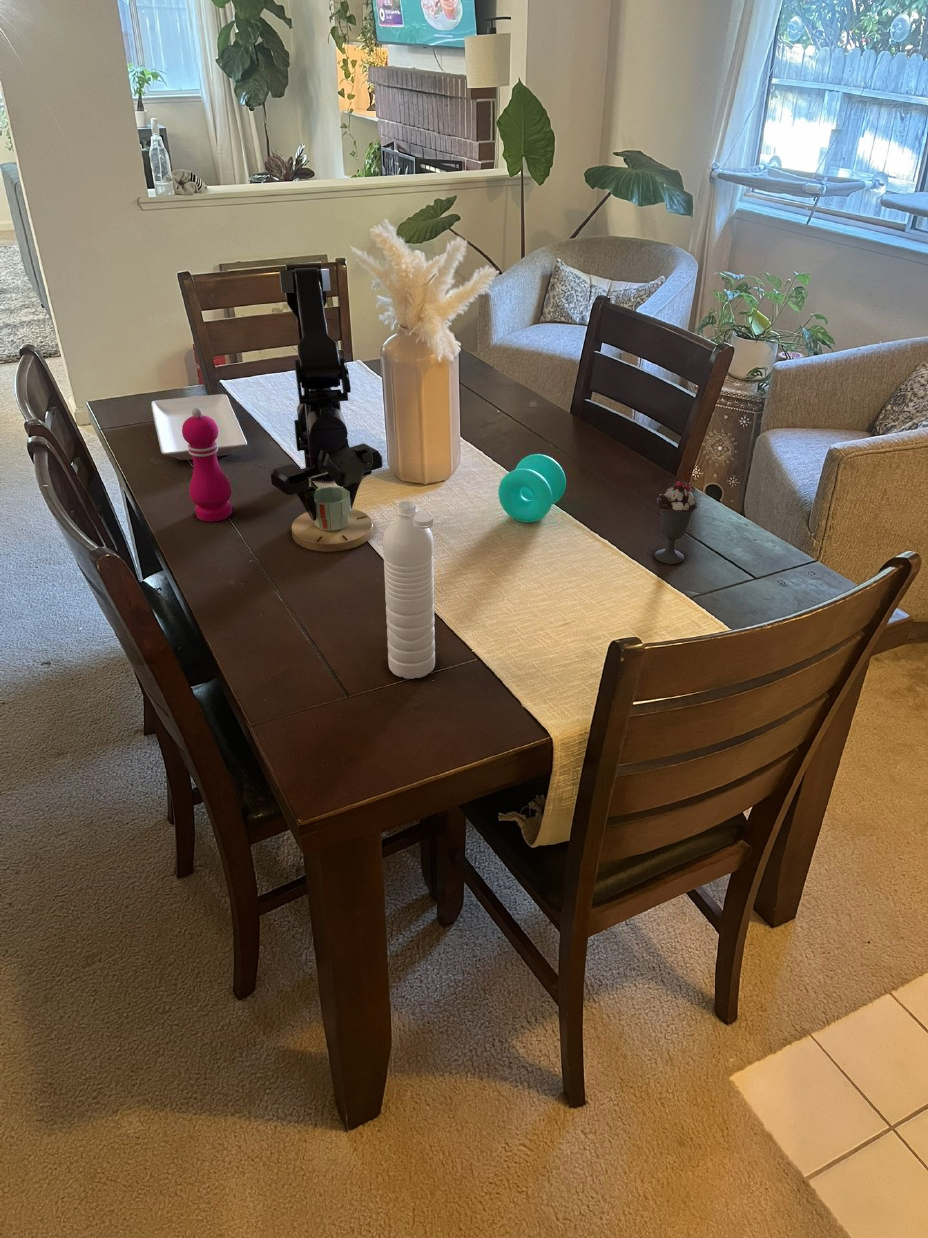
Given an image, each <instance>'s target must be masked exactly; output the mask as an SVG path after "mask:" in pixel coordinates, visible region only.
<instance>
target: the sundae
mask: <svg viewBox="0 0 928 1238" xmlns="http://www.w3.org/2000/svg"><path fill="white" fill-rule="evenodd" d="M691 474H693V472H692V471H687V474H686V476H685V478H683V479H682V480H681V481H676V482H675V484H674V485H672V486H670V487H669V488H668V489H667V490H666V492H665V493H659V494H658V497H657V498H656V504H657V507H658V508H659V511H660V513H659V514H660V518H659V519H660V524H659V525H660V531H661V532H660V533H662V535H663V537H665V538H666V539H667V545H666V548H661V549H658V550H657V551H655V553H654V554H653V556H654V558H655V559H656V560H657V561H658V562H660V563H663V564H667V565H676V564H680V563H682V562H684V560H685V556H684V554H683V553H682V552H680V551H679V550H677V549H675V543H676V541H677V540H678V539H681V538H682V537H683V536H685V534H686V532H687V529H688V527H689V523H690V520H691V518H692V515H693V513H694V512H695V510H697V508H698V506H699V503H698V501H696V500H695V497H694V495H693V493H692V492H691V489H692V487H691V485H689V481H690V480H689V479H690V475H691ZM686 479H687V482H686V483H687V484H684V483H683V482H684V481H685V480H686Z"/></svg>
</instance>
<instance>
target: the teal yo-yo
mask: <svg viewBox="0 0 928 1238" xmlns="http://www.w3.org/2000/svg"><path fill="white" fill-rule="evenodd" d="M566 488H567V478H566V475H565V472H564V469H563V467H562V466H561V465H560V464H559V463H558V462H557V461H556V460H555V459H553V457H550V456H548V455H546V454H541V453H535V454H534V453H533V454H530V455H527V456H525V457H524V458H522V459H521V460H519V462H518V463H517V465H516V466H515V469H513V470H511V471H509V472H507V473H506V474H505V475H504V476H503V477H502V479H501V481H500V483H499V485H498V493H497V494H498V500H499V503H500V505H501V507H502V509H503V510H504V512H505V513H506V514H507V515H508V516H509V517H511V518H512V519H513V520H516V521H517V522H521V523H526V524H527V523H535V522H538V521H540V520H542V519H543V518H544V517H545V516H546V515H547V514H548V513H549V511H550V510H551V508H552V505H555V504H556V503H558V502H559V501H560V500H561V498H563V496H564V494H565V491H566Z"/></svg>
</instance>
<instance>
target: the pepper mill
mask: <svg viewBox="0 0 928 1238" xmlns="http://www.w3.org/2000/svg"><path fill="white" fill-rule="evenodd" d="M202 414H203V412H202V410H201V409H200V408H194V409H193V410H192V415H193V416H192V417H190V418H188V419H187V420H186V421H185V422H184V424H183V426H182V434H183V437H184V439H185V441H186V442H188V443H189V444H188V449H189V454H190V455H192V458H193V459H192V463H193V469H192V470H193V472H192V476H191V480H190V483H189V489H188V490H189V498H190V500H191V501H192V502H193V503H194V504H195V506H194V511H195V515H196V518H197V519H198V520H200V521H203V522H209V523H210V522H213V523H214V522H219V521H222V520H225V519H227V518H229V517H230V516H231V515H232V513H233V510H232V503H231V501H230V498H231V496H232V487H231V484H230V481H229V479H228V478H227V476H226V474H225V473H224V471H223V470H222V468H221V467H220V464H219V460H218V456H217V454H216V452H217V451H218V447H217V445H218V444H217V442H216V441H215V440H216V438H217V437H218V427H217V424H216V423H215V421H214V420H213V419H212V418H210V417H208V416H204V415H202Z"/></svg>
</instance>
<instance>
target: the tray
mask: <svg viewBox="0 0 928 1238" xmlns="http://www.w3.org/2000/svg"><path fill="white" fill-rule="evenodd" d="M150 403H151V404H150V405H151V411H152V416H153V422H154V427H155V431H156V435H157V440H158V444H159V449H160V452H161V454H162V455H164V456H166V457H169V458H175V459H177V460H179V461H189V460H193V458H192V455H190V454H189V449H188V444H189V443H188V442H186V441H185V439H184V437H183V434H182V426H183V424H184V422H185V421H186V420H187V419H188V418H190V417H192V416H193V415H192V410H193V409H194V408H200V409H201V410H202V412H203V414H202V415H204V416H208V417H210V418H212V419H213V420H214V421H215V423H216V424H217V427H218V437H217V438H216V440H215V441H216V442H217V444H218V445H217V447H218V451H217V452H216V454H217V457H223V456H229V455H232V454H233V453H234V452H236V451H239V450H241V449H242V448H245V447H246V446H247V445H248V441H247V439H246V437H245V435H244V432H243V430H242V428H241V425H240V422H239V419H238V418H237V415H236V413H235V410H234V408H233V407H232V404H231V402H230V399H229V397H228V395H227V394H224V393H220V394H210V395H199V396H197V395H196V396H187V397H178V398H168V399H167V398H166V399H157V400H152V401H151V402H150Z"/></svg>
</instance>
